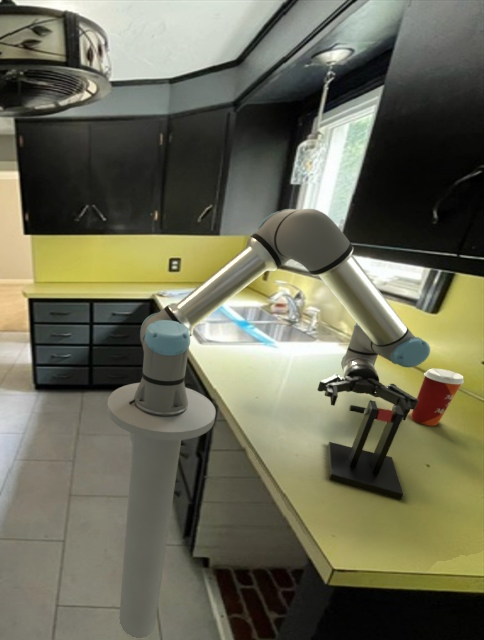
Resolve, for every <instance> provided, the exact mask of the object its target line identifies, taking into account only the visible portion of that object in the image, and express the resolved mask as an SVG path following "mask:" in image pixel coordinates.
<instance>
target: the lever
mask: <svg viewBox="0 0 484 640" xmlns="http://www.w3.org/2000/svg"><path fill="white" fill-rule="evenodd" d="M365 408H366V407H364V406H360V405H353V404H350V406H349V408H348V411H349V412H353V413H357V414H362V415H364V410H365ZM377 408H378V412H377V414H376V417H375V419H374V420H376V421H380V422H385V423H386V422H389V423H390V421H391V418H392V414H393V411H391V410H392V409H391V410H390V409H386V408H381V407H377Z"/></svg>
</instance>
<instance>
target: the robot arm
mask: <svg viewBox="0 0 484 640" xmlns="http://www.w3.org/2000/svg"><path fill="white" fill-rule="evenodd" d="M354 248H355V247H354V246H353V245H352V243H351V242H350V240H349V239H348V237H347V236H346V235H345V234H344V233H343V231H342V230H341V229H340V227H339V226H338V225H337V224H336V223H335V222H334V220H333V219H332V218H330V217H329V216H328V215H327V214H326V213H324V212H323V211H321V210H319V209H315V208H302V209H300V208H297V209H295V208H285V209H281V210H277V211H276V212H273V213H271V214H269V215H267V216H266V217H265V218H264V219H263V220H262V221H261V223H260V224H259V226H258V228H257V230H255V232H254V233H252V234H251V235H250V236H249V237H248V238H247V241H246V246H245V247H244V248H243V249H242V250H241V251H240V252H238V253H237V254H236V255H235V256H233V257H232V258H231V259H230V260H228V262H226V263H225V264H224V265H223V266H221V267H220V268H219V269H218V270H217V271H215V272H214V273H213V274H211V275H210V276H209V277H208V278H207V279H206V280H204V281H203V282H201V284H199V285H198V286H197V287H195V289H193V290H192V291H191V292H190V293H188V294H187V295H186V296H185V297H184V298H182V299H181V300H180V301H179V302H178V303H176V304H167V305H166V306H165V307H163V308H162V309H161V310H160V311H159V312H154V313H152V314H150V315H149V316H147V317H146V318H145V319H144V320H143V322H142V324H141V326H140V331H139V339H140V342H141V347H142V349H143V363H142V374H141V379H140V382H139V383H140V384H139V386H138V389H137V391H136V393H135V396H134V400H132V401H130V402H129V404H132V403H134V405H135V406H136V407H137V408H138V409H139V410H140V411H142V412H144V413H147V414H150V415H154V416H160V417H172V416H177V415H180V414H182V413H184V412H185V411H186V410H187V406H188V398H187V394H186V389H185V387H186V385H185V379H186V371H187V364H188V357H189V350H190V349H189V348H190V345H191V337H192V336H193V335H194V329H195V327H196V326H198V325H199V324H200V323H202V322H203V321H204V320H205V319H207V318H208V317H209V316H210V315H212V314H214V312H216V311H217V310H218V309H220V308H221V307H222V306H223V305H224V304H226V303H227V302H228V301H230V300H231V299H232V298H233V297H235V296H236V295H237V294H239V293H240V292H241V291H242V290H244V289H245V288H246V287H248V286H249V285H250V284H251V283H253V282H254V281H255V280H256V279H258V278H259V277H260V276H262V275H263V274H264V273H265V272H269V271H270V272H276V271H278V269H280V268H281V267H282V266H284V265H285V264H286V263H287V262H289V261H290V260H292V261H295V262H296V263H298V264H300V265H301V266H303V267H304V268H305V269H306V270H307V272H309V274H311V276H313V277H319V278H320V280H321V281H322V282H323V283H324V284H325V286H326V287H327V288H328V289H329V290H330V292H331V293H332V294H333V295H334V296H335V298H336V300H338V301H339V303H340V304H341V305H342V307H344V309H345V310H346V311H347V312H348V314H349V315H350V316H351V318H352V319H353V320H354V321H355V325H354V326H353V330H352V333H351V337H350V341H349V343H348V346H347V349H346V352H345V354H344V355H343V356H342V358H341V363H340V364H341V368H342V373H343V377H341V375H339V374H338V373H333V375H332V376H330V377H327V378H325V379H322V380H320V381H319V383H318V386H317V389H316V391H318V392H324V396H325V397H328V398H330V406H332V407H333V406H334V407H335V405H336V403H337V399H338V397H339V395H338V393H343V392H347V393H350V392H352V393H355V394H359V395H361V394H366V395H370V396H372V397H374V398H380V399H382V400H384V401H386V402H388V403H390V404H392V405H398V406H400V408H401V410H402V412H403V414H404V416H403V420H402V421H406V419H407V417H408V416H409V415H408V414H409V413H410V412H411V410H412V411H413V410H414V409H415V408H416V406H417V403H418V401H419V400H418V399H417V397H415V396H413V395H412V394H410V393H409V392H406V391H404V390H403V389H401V388H399V387H398V386H397V385H396V384H395V383H389V384H388V385H385V384H383V383H382V382H380V376H379V374H378V371H377V369H376V366H375V364H376V362H377V359H378V356H380V357H381V358H383V359H386V360H387V361H389V362H391V363H393V364H394V365H398V366H399V367H400V366H401V367H402V368H408V369H409V368H414V367H417V366H420V365H421V364H422V363H424V362H425V361H426V360H427V359H428V357H430V353H431V347H430V344H429V343H428V342H427V341H425V340H423V339H422V338H421V337H419V336H415V334H413V332H412V331H411V330H410V328H408V327H407V325H406V323H404V321H403V320H402V318H401V317H400V316H399V315H398V314H397V312H396V310H395V309H394V308H393V307H392V305H391V304H390V303H389V302H388V300H387V298H386V297H385V296H384V295H383V294H382V292H381V291H380V289H379V288H378V287H377V285H376V284H375V283H374V282H373V280H372V279H371V277H370V276H369V275H368V274H367V272H366V270H365V269H364V268H363V267H362V266H361V265H360V263H359V262H358V260H357V259H356V257H354V255H353V252H354Z"/></svg>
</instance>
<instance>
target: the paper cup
mask: <svg viewBox="0 0 484 640" xmlns="http://www.w3.org/2000/svg"><path fill="white" fill-rule="evenodd" d="M423 376H424V377H423V380H422V383H421V385H420V388H419V391H418V394H417V397H416V399H418V400H419V401H418V403H417V406H416V408H415V409H414V410H413V409H412V412H411V415H410V419H412V421H414V422H415V423H416V422H417V423H419V424H421V425H426V426H431V427H432V426H437V425H438V424H439V422H440V421H441V419H442V417H443V416H444V414H445V413H446V411H447V409H448V407H449V406H450V404H451V402H452V401H453V399H454V397H455V396H456V394H457V393H458V390H459V388H461V385H463V384H464V383H465V381H464V376H463V374H461V373H458V372H455V371H452V370H448V369H443V368H430V369H428V370H427V371H425V372H424V373H423Z"/></svg>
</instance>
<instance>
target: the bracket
mask: <svg viewBox="0 0 484 640" xmlns="http://www.w3.org/2000/svg"><path fill="white" fill-rule="evenodd" d="M364 408H365V410H364V414H363V416H362V419H361V422H360V424H359V427H358V430H357V433H356V435H355V436H354V437H355V438H354V440H353V443H352V445H351V446H348V445H345V444H340V443H336V442H332V441H328V444H327V463H328V464H327V465H328V478H329V480H330V481H334V482H336V483H340V484H344V485H348V486H351V487H354V488H356V489H357V488H358V489H362V490H364V491H368V492H372V493H375V494H379V495H382V496H385V497H389V498H391V499H396V500H400V501H402V499H403V496H404V495H405V494H404V491H403V488H402V485H401V482H400V479H399V475H398V472H397V469H396V466H395V462H394V460H393V457H392V456H389V455H388V453H389V451H390V448H391V446H392V443H393V441H394V439H395V437H396V435H397V432H398V429H399V428H400V425H401V423H402V422H403V421H404V420H403V416H404V414H403V412H402V410H401V408H400V406H398V405H394V404H392V408H391V411H393V414H392V418H391V421H390V423H389V422H385V425H384V427H383V429H382V432H381V435H380V438H379V439H378V442H377V444H376V447H375V449H374V451H373V452H372V451H368V450H365V449H364V447H365V444H366V442H367V441H368V440H367V439H368V437H369V434H370V432H371V429H372V427H373V425H374V422H375V420H376V419H375V417H376V414H377V412H378V408H379V407H378V405H377V401H376V400H371V399H370V400H369V401H368V404H367V405H366V407H364Z"/></svg>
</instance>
